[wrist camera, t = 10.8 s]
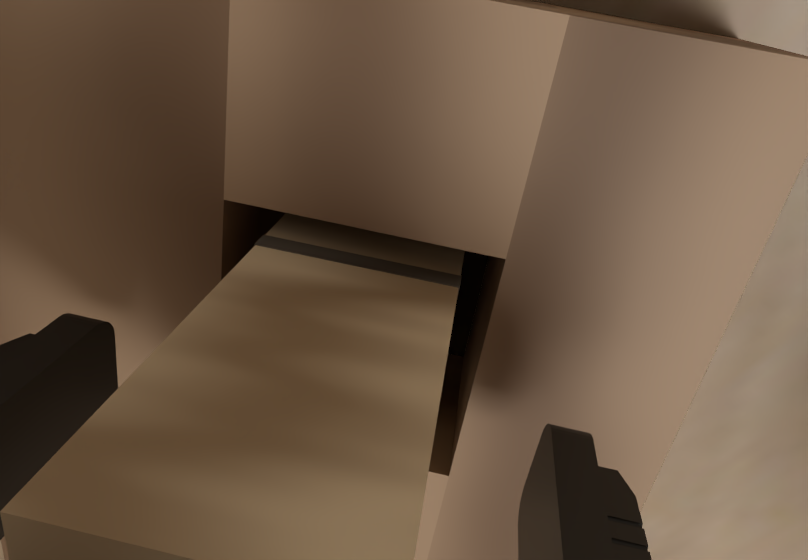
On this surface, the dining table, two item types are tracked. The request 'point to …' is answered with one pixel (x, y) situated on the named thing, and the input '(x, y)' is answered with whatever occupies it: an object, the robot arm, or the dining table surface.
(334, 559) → the peg
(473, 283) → the dining table surface
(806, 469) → the dining table surface
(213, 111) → the seat board
